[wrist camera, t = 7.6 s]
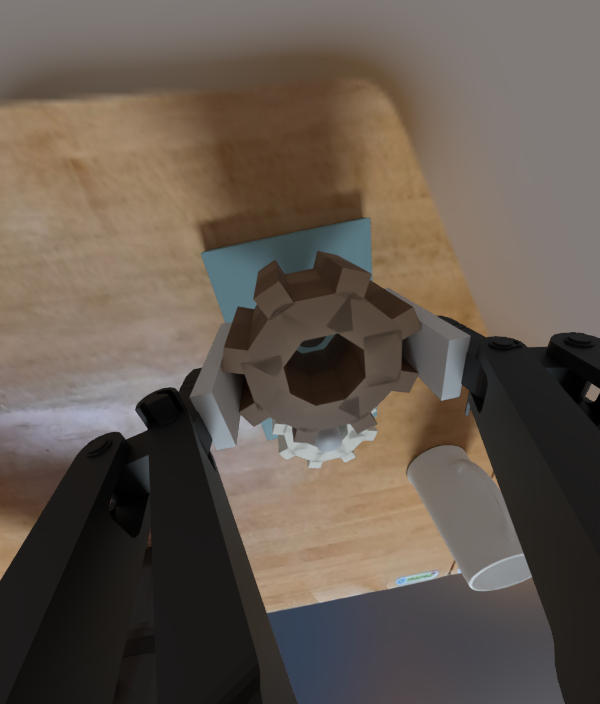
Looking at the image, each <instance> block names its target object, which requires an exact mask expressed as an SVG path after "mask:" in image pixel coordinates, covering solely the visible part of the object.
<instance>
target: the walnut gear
mask: <svg viewBox="0 0 600 704" xmlns="http://www.w3.org/2000/svg"><path fill="white" fill-rule="evenodd" d="M371 275H372V274H371V273H369V272H368V271H366V270H364V269H362V268H360V267H358V266H357V265H355V264H353V263H351V262H349V261H347V260H345V259H344V258H342V257H340V256H338V255H335V254H330V253H326V252H321V251H317V254H316V258H315V262H314V267H313V268H312V269H308V270H303V271H298V272H294V273H289V274H284V272H283V271H282V269H281V268H280V266H279V265H278V263H277V262H276V260H274V261H272V262H271V263H269V264H268V265H267V266H265V267H264V268H262V269H261V270H260V271H258V275H257V280H256V286H255V291H254V297H253V300H254V301H255V302H256V304H257V305H256V307H255V308H254V309H251V308H245V307H239V306H238V307H237V310H236V313H235V316H234V319H233V321H232V324H231V327H230V330H229V333H228V336H227V339H226V342H225V345H224V349H223V361H222V372H229V373H237V374H245V375H244V381H243V388H242V395H241V402H240V409H239V414H240V415H242V416H243V417H244V418H245V419H246V420H247V421H248V422H249V423H250V424H251V425H252V426H256V425H258V424H259V423H261V422H263V421H265V420H266V419H268V418H272V419H274V420H277V421H279V422H282V423H284V424H286V425H289V426H291V427H292V433H293V442H296V443H313V444H315V442H316V439H317V436H318V433H319V431H320V430H324V429H329V428H333V427H338V426H343V425H347V424H350V425H351V426H352V427H353V429H354V430H355V431H356V432H357V434H359V433H361V432H363V431H365V430H367V429H368V428H370V427H372V426H374V425H376V424H377V423H376V421H375V419H374V417H373V415H372V413H371V411H372V410H373V409H374V408H375V407H376V406H377V405H378V404H379V403H380V402H381V401H382V400H383V399H384V398H385V397H386V396H387V395H388V394H389V393H390V392H391V391H398V392H407V393H409V392H410V390H411V388H412V386H413V384H414V382H415V380H416V378H417V376H418V374H419V373H418V372H417V371H416V370H415V369H414V368H413V367H412V366H411V365H410V364H409V363H408V362H407V361H406V360H405V359H404V358H403V357H402V340H403V339H405V338H407V337H409V336H410V335H412V334H414V333H415V332H417V331H419V330H421V329H422V326H421V324H420V321H419V319H418V317H417V314H416V312H415V309H414V307H413V306H411V305H410V304H408V303H406V302H405V301H403V300H401V299H400V298H398V297H397V296H395V295H393V294H392V293H390V292H388V291H387V290H385V289H383V288H382V287H380V286H379V285H377V284H375V283H374V282H372V281H370V278H371ZM333 334H335V335H334V337H333V338H332V339H331V341H330V342H329V343H328V344H327V346H326V347H325V348H324V349H321V350H316V351H311V352H307V353H301V352H299V351H297V348H298V347H299V346H300V344H301V343H302V342H303V341H305V340H310V339H314V338H319V337H324V336H328V335H333Z"/></svg>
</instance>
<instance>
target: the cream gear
mask: <svg viewBox="0 0 600 704" xmlns="http://www.w3.org/2000/svg"><path fill="white" fill-rule="evenodd" d="M376 411H377V410H376V409H375V408H374V409H373V410H372V411H371V413H372V414H373V413H374V412H376ZM338 428H339V431H340V434H341V437H342V444H341V446H340V447H339V448H338V449H336V450H334V451H330V452H324V451H321V450H319V449H318V448H317V445H316V442H315V444H313V443H296V442H293V433H292V427H291V426H289V425H286V424H284V423H282V422H279V421H277V420H274V419H272V429H273V434H276V435H278V443H279V454H280V455H281V456H283V457H284V458H285V459H286V460H288V459H290V458H291V457H293V456H295V455H296V456H299V457H302V458H304V459H307V464H308V468H321V465H322V462H323V461H326V460H331V459H335V458H341V459H342V460H343V461H344V462H347V461H349V460H351V459H353V458H355V457H356V456H355V453H354V449H355V448H356V447H357V446H358V445H359V444H360V443H361V442H362V441H363V440H369V441H373V440H374V438H375V436H376V434H377V429H376V427H375V425H374V426H372V427H370V428H368V429H367V430H365V431H363V432H361V433H359V434H357V432H356V431H355V430H354V429H353V427H352V426H351V425H350V424H347V425H343V426H338Z"/></svg>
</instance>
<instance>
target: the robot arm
mask: <svg viewBox="0 0 600 704" xmlns="http://www.w3.org/2000/svg"><path fill="white" fill-rule="evenodd" d="M385 290H387V291H388V292H390V293H392V294H393V295H395V296H397V297H398V298H400V299H401V300H403V301H405V302H406V303H408V304H410V305H411V306H413V307H414V309H415V312H416V314H417V317H418V319H419V321H420V324H421V326H422V329H421V330H419V331H417V332H415V333H414V334H412V335H410V336H409V337H407V338H405V339H403V340H402V357H403V358H404V359H405V360H406V361H407V362H408V363H409V364H410V365H411V366H412V367H413V368H414V369H415V370H416V371H417V372H418V373H419V374H418V377H419V378H420V379H421V380H422V381H423V382H424V383H425V384H426V385H427V386H428V387H429V388H430V390H431V391H432V392H433V393H434V394H435V395H436V396H437V397H438V398H439V399H440V400H441V401H443V400H447V399H452V398H456V397H460V392H461V387H462V385H463V386H465V387H466V388H467V389H468V390H469V394H468V399H467V404H466V409H465V415H467V416H468V415H469V411H470V410H472V413H473V416H474V418H475V421H476V424H477V427H478V429H479V432H480V435H481V438H482V440H483V443H484V446H485V449H486V451H487V454H488V457H489V460H490V462H491V465H492V468H493V471H494V473H495V476H496V479H497V482H498V484H499V487H500V490H501V493H502V496H503V498H504V501H505V504H506V507H507V509H508V512H509V515H510V518H511V520H512V523H513V526H514V529H515V531H516V534H517V537H518V540H519V542H520V545H521V548H522V551H523V553H524V556H525V559H526V562H527V564H528V567H529V570H530V573H531V575H532V578H533V581H534V584H535V586H536V589H537V592H538V595H539V597H540V600H541V603H542V605H543V608H544V611H545V614H546V616H547V619H548V622H549V625H550V628H551V631H552V635H553V639H554V646H555V647H554V648H555V649H554V650H555V667H556V672H557V678H558V682H559V685H560V689H561V692H562V696H563V699H564V702H565V704H600V394H599V396H598V397H597V399H596V400H595V401H594V402H593V401H591V400H589V399H588V398H587V397H585V396H586V394H587V392H588V390H589V388H590V386H591V384H593V385H595V386H597V387H598V388H600V338H597V337H594V336H591V335H586V334H584V333H576V332H570V333H560V334H555V335H553V336H552V337H551V339H550V341H549V344H548V347H527V346H525V344H523V343H522V342H521V341H518V340H515V339H512V338H507V337H497V336H494V337H487V338H486V337H484V336H482V335H481V334H479V333H477V332H475V331H473V330H471V329H470V328H468V327H467V328H466V326H464V325H462V324H459V322H457V321H455V320H453V319H451V318H448V317H444V316H436V315H434V314H432V313H430V312H429V311H427V310H425V309H423V308H422V307H420V306H418V305H417V304H415V303H413V302H411V301H410V300H408V299H406V298H405V297H403V296H401V295H399V294H398V293H396V292H394V291H393V290H391V289H389V288H388V289H385ZM231 324H232V322H229V323H224V324H221V326H220V328H219V331H218V333H217V335H216V337H215V340H214V342H213V344H212V347H211V349H210V351H209V354H208V356H207V358H206V360H205V363H204V365H203V367H202V368H198V369H194V370H193V371H191V372H190V373H189V374H188V375H187V376H186V378H185V380H184V382H183V385H182V386H181V388H180V391H179V392H178V391H177V390H176V389H175V388H171V387H170V388H163V389H160V390H157V391H155V392H153V393H151V394H149V395H147V396H146V397H145V398H143V399H142V400H141V401H140V402H139V403H138V404H137V406H136V409H135V410H136V412H137V413H138V415H139V416H140V418H141V419H142V421H143V422H144V424H145V425H146V427H147V428H148V430H147V431H145V432H143V433H140V434H138V435H136V436H133V437H131V438H129V439H126V440H125V438H124V437H123V436H122V434H121V433H120V432H111V433H107V434H104V435H102V436H99V437H97V438H95V440H92V441H91V442H89V443H88V444H87V445H86V446H85V447H84V448H83V449H82V450H81V451H80V452H79V453H78V455H77V456H76V458H75V459H74V461H73V463H72V464H71V466H70V467H69V469H68V471H67V472H66V474H65V476H64V477H63V479H62V481H61V482H60V484H59V485H58V487H57V489H56V490H55V492H54V494H53V495H52V497H51V499H50V500H49V502H48V503H47V505H46V507H45V508H44V510H43V512H42V513H41V515H40V517H39V518H38V520H37V521H36V523H35V525H34V526H33V528H32V530H31V531H30V533H29V535H28V536H27V538H26V539H25V541H24V543H23V544H22V546H21V548H20V549H19V551H18V553H17V554H16V556H15V557H14V559H13V561H12V562H11V564H10V566H9V567H8V569H7V571H6V572H5V574H4V575H3V577H2V579H1V580H0V704H298V702H297V700H296V697H295V695H294V692H293V689H292V686H291V683H290V681H289V678H288V675H287V672H286V669H285V666H284V663H283V660H282V657H281V654H280V651H279V648H278V645H277V643H276V639H275V637H274V633H273V631H272V628H271V625H270V622H269V619H268V616H267V613H266V610H265V607H264V604H263V601H262V598H261V595H260V592H259V589H258V587H257V584H256V581H255V578H254V575H253V572H252V569H251V566H250V563H249V560H248V557H247V554H246V551H245V548H244V545H243V542H242V540H241V537H240V534H239V531H238V528H237V525H236V522H235V519H234V516H233V513H232V510H231V507H230V504H229V501H228V498H227V496H226V493H225V490H224V487H223V484H222V481H221V478H220V475H219V472H218V469H217V466H216V463H215V460H214V457H213V455H212V454H211V452H210V447H211V443H212V441H213V443H214V445H215V447H216V449H217V450H221V449H225V448H230V447H234V446H236V443H237V436H238V429H239V421H240V414H239V409H240V402H241V395H242V388H243V381H244V375H245V374H237V373H229V372H222V361H223V349H224V345H225V342H226V339H227V336H228V333H229V330H230V327H231ZM110 500H111V504H110ZM109 505H110V507H109ZM150 527H151V541H152V548H150V549H147V550H146V546H147V541H148V536H149V532H150Z"/></svg>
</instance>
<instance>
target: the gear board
mask: <svg viewBox="0 0 600 704" xmlns="http://www.w3.org/2000/svg"><path fill="white" fill-rule="evenodd" d="M317 251H321V252H326V253H330V254H335V255H338V256H340V257H342V258H344V259H345V260H347V261H349V262H351V263H353V264H355V265H357V266H358V267H360V268H362V269H364V270H366V271H368V272H369V273H371V274H372V259H371V230H370V218H359V219H355V220H350V221H345V222H340V223H336V224H331V225H326V226H321V227H317V228H312V229H307V230H302V231H297V232H293V233H288V234H283V235H278V236H274V237H269V238H264V239H259V240H254V241H250V242H245V243H240V244H235V245H231V246H226V247H221V248H216V249H211V250H207V251H204V252H202V253H201V256H202V258H203V261H204V264H205V267H206V270H207V272H208V275H209V278H210V281H211V284H212V286H213V289H214V292H215V295H216V298H217V300H218V303H219V306H220V309H221V312H222V314H223V317H224V320H225V323H229V322H232V321H233V319H234V316H235V313H236V310H237V307H238V306H239V307H245V308H251V309H254V308H255V307H256V305H257V304H256V302H255V301H254V300H253V297H254V291H255V286H256V280H257V275H258V271H260V270H261V269H262V268H264V267H265V266H267V265H268V264H269V263H271V262H272V261H274V260H276V262H277V263H278V265H279V266H280V268H281V269H282V271H283V272H284V274H289V273H294V272H298V271H303V270H308V269H312V268H313V267H314V262H315V258H316V254H317ZM370 281H372V275H371V278H370ZM334 335H335V334H333V335H328V336H324V337H319V338H314V339H310V340H305V341H303V342H302V343H301V344H300V346H299V347H298V348H297V351H299V352H301V353H307V352H311V351H316V350H321V349H324V348H325V347H326V346H327V344H328V343H329V342H330V341H331V339H332V338H333V337H334ZM375 409H376V410H377V406H376V407H375ZM372 415H373V417H376V416H377V411H376V412H374V413H373V414H372ZM261 424H262V427H263V429H264V432H265V435H266V438H267V441H268V440H273V439H277V438H278V435H276V434H273V429H272V418H268V419H266V420H265V421H263V422H261ZM341 444H342V437H341V434H340V431H339V428H338V427H333V428H329V429H324V430H320V431H319V433H318V436H317V439H316V445H317V448H318V449H319V450H321V451H324V452H330V451H334V450H336V449H338V448H339V447H340V446H341Z"/></svg>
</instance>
